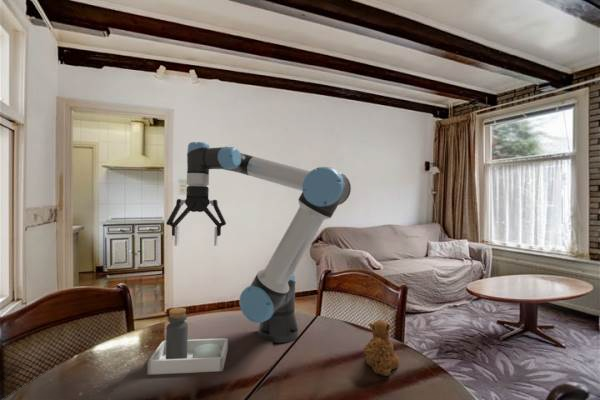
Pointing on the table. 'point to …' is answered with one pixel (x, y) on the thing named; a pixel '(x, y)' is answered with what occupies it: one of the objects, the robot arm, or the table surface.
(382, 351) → the brown fuzzy plush figure
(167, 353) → the bottle
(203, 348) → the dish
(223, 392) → the table surface
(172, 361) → the tray
